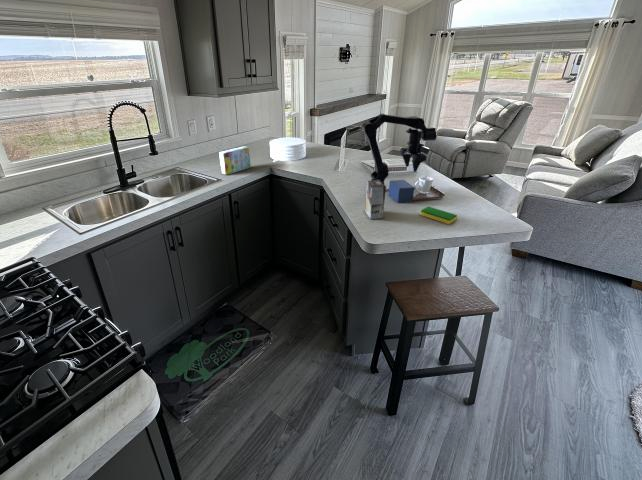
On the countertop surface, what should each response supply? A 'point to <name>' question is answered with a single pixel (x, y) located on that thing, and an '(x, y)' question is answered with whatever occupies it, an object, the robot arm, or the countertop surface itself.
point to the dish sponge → (438, 215)
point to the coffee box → (375, 199)
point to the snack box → (234, 160)
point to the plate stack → (287, 149)
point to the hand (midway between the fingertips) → (411, 169)
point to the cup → (424, 184)
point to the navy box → (411, 192)
